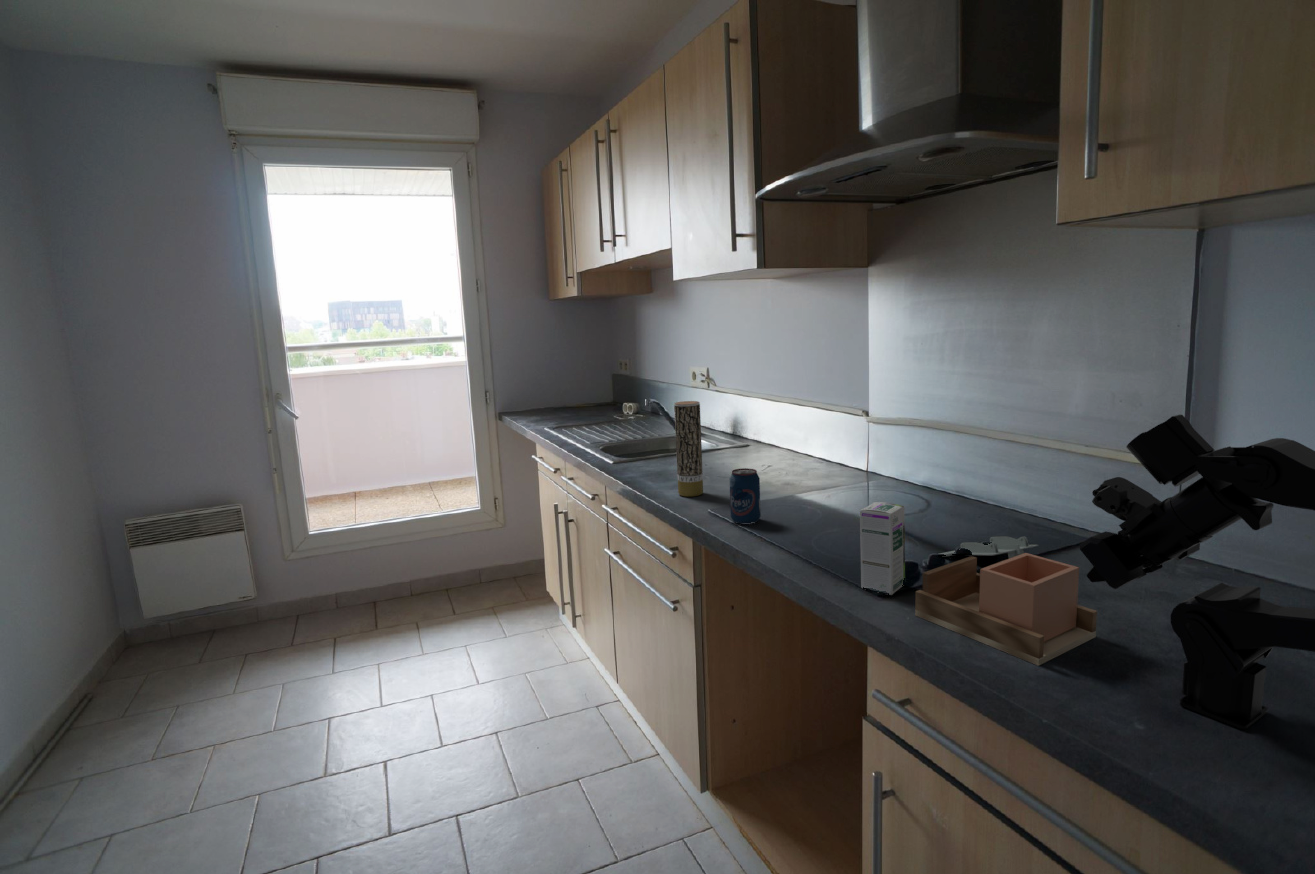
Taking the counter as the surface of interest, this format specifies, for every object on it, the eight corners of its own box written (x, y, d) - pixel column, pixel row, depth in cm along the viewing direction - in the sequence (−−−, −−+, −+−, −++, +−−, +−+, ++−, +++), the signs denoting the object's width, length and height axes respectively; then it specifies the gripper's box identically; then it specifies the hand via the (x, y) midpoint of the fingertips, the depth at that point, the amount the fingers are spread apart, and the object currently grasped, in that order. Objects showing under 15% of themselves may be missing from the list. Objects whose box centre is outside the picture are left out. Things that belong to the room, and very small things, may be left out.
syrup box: (892, 596, 120) (893, 513, 117) (859, 588, 123) (859, 508, 121) (905, 585, 124) (906, 504, 121) (873, 578, 128) (873, 500, 125)
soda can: (729, 525, 163) (727, 474, 161) (732, 516, 170) (731, 467, 168) (759, 525, 162) (758, 474, 159) (761, 517, 168) (760, 467, 166)
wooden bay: (1095, 637, 102) (1098, 591, 101) (1038, 665, 95) (1040, 616, 94) (971, 593, 119) (972, 554, 118) (915, 615, 112) (915, 573, 111)
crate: (1075, 626, 103) (1079, 567, 101) (1031, 648, 97) (1033, 585, 96) (1023, 608, 109) (1025, 552, 108) (978, 627, 104) (980, 569, 102)
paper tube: (679, 491, 196) (675, 401, 192) (703, 490, 195) (700, 400, 191) (677, 497, 189) (673, 404, 185) (702, 497, 189) (699, 404, 184)
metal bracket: (1049, 533, 130) (986, 546, 125) (1055, 565, 130) (992, 579, 125) (989, 534, 144) (930, 545, 139) (995, 562, 143) (935, 575, 138)
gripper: (1178, 450, 92) (1086, 515, 103) (1100, 473, 82) (1008, 541, 94) (1247, 522, 86) (1143, 582, 98) (1172, 555, 77) (1066, 617, 88)
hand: (1090, 578), depth 94 cm, fingers closed
